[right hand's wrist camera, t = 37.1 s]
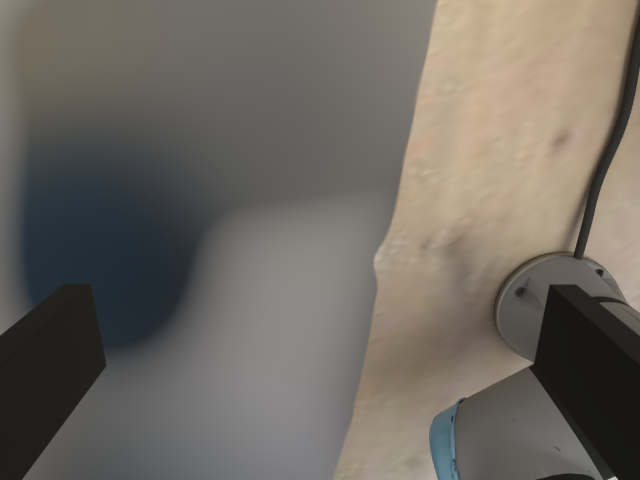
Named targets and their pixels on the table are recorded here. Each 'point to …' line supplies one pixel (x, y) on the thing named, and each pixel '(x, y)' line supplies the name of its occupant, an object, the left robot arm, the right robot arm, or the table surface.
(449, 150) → the table surface
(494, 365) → the table surface
